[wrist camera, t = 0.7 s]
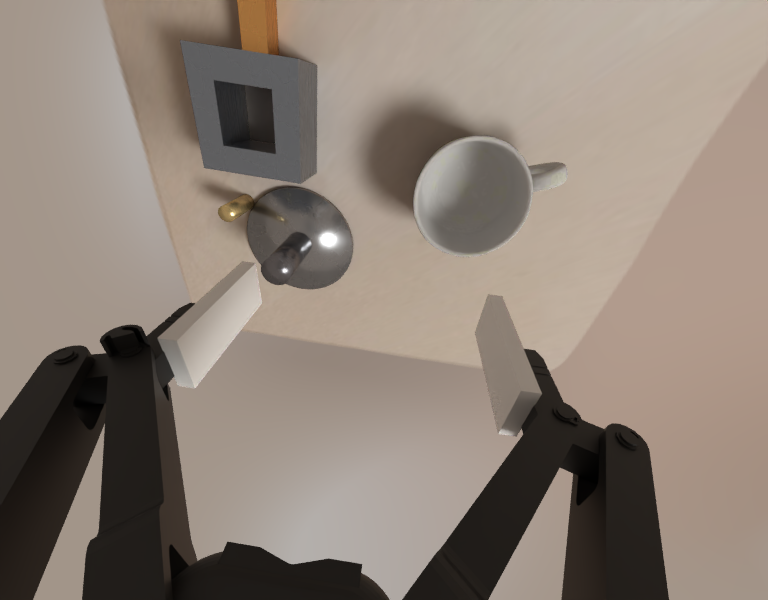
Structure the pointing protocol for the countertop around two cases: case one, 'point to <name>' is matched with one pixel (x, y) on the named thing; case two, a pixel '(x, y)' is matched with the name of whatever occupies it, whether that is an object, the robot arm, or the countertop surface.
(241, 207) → the dowel pin
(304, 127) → the grey hollow block
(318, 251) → the rod on disc base
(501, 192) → the teacup
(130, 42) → the countertop surface
